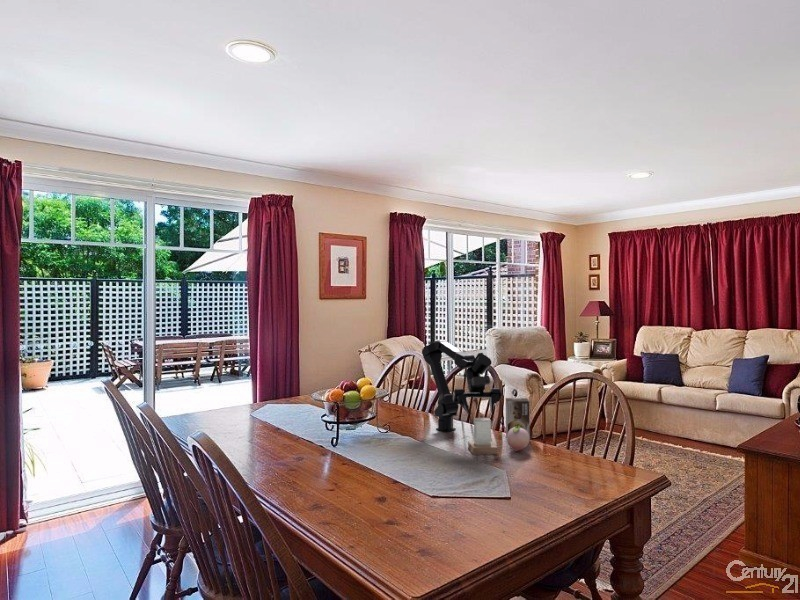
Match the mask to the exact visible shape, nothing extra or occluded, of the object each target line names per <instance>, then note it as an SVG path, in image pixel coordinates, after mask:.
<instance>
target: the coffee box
mask: <svg viewBox="0 0 800 600" xmlns="http://www.w3.org/2000/svg"><path fill="white" fill-rule="evenodd" d="M517 425H518V426H520V427H521V428H523V429H525V430H526V431H527V432H528V434H529V441H531V439H530V438H531V437H530V436H531V435H530V434H531V433H530V432H531V430H530V401H529V399H528V398H525V397H507V398H506V397H505V437H506V438H507V434H508V431H509V430H510V429H511V428H514V427H515V426H517Z"/></svg>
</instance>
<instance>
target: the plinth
mask: <svg viewBox="0 0 800 600" xmlns="http://www.w3.org/2000/svg"><path fill="white" fill-rule="evenodd" d="M467 447H468V449H469V451H470V452H471V454H472V455H474V456H475V455H476V456H477V455H498V446H497V445H496V444H495V443H494V442H493V441H492V440H491V446H476V445H475V444H474V440H469V441H467Z"/></svg>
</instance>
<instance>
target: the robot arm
mask: <svg viewBox="0 0 800 600" xmlns="http://www.w3.org/2000/svg"><path fill="white" fill-rule="evenodd" d="M421 354H422V355H421V356H423V359H424V361H425V363H426V364H428V365H429V366H430V369H431V374H432V377H433V380H434V383H435V386H436V390H437V393H438V398H437V407H436V408H435V409H434V411H433V412H434V416H435V417H437V418H438V421H437V423H438V424H437V428H435V430H437V431H440V432H444V433H448V432H449V433H450V432H451V431H455V430H456V427H454V416H455V417H456V416H458V415H457V414H458V412H459V411H458V410H459V405H460V406H461V408H463V410H464V411H465V413H466V414H467V415H470V408H469V404H468V401H467V400H468V399H467V398H474V399H476V398H477V399H479V398H481V399H482V398H485V399H486V398H488V400H489V408H490V414H491V415H493V414H494V409H495V404H497V403H498V402H500V400H501V397H502V394H503V393H502V390H501V389H500V388H490V390H489V391H487V392H485V390H486V385H490V383H491V379H490V375H484V376H481V375H483V374H485V373H486V371H487V370H488V369H489V368H490V366H491V365H492V360H491V358H490V357H488V356H487V355H486V354H484V353H483V352H478V353H477V354H476V356H475V355H474V354H472V353H469V352H466V351H461V349H460V350H459V349H458V348H457V347H455V346H454V345H452V344H451V343H449V342H448V340H445V339H438V340H436V341H434V342H431V343H429V344H427V345H425V346H423V348H422V350H421ZM443 354H445V355H446V356H448V357H449V358H450V359H452V360H453V361H454V364H455V365H456V366H457V367H458V369H460V370H463V369H466V370H465V371H464V373H463V377H464V378H466V383H467V389H468V391H465V388H455V389H454V390H453V393H452V392H451V391H450V387H449V384H448V381H447V379H446V376H445V373H444V370H443V366H442V362H441V361H442V357H443Z"/></svg>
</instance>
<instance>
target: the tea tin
mask: <svg viewBox="0 0 800 600" xmlns="http://www.w3.org/2000/svg"><path fill="white" fill-rule="evenodd" d="M473 441H474V444H475V445H476V446H491V441H492V420H491V419H490V418H489V417H474V418H473Z"/></svg>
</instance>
